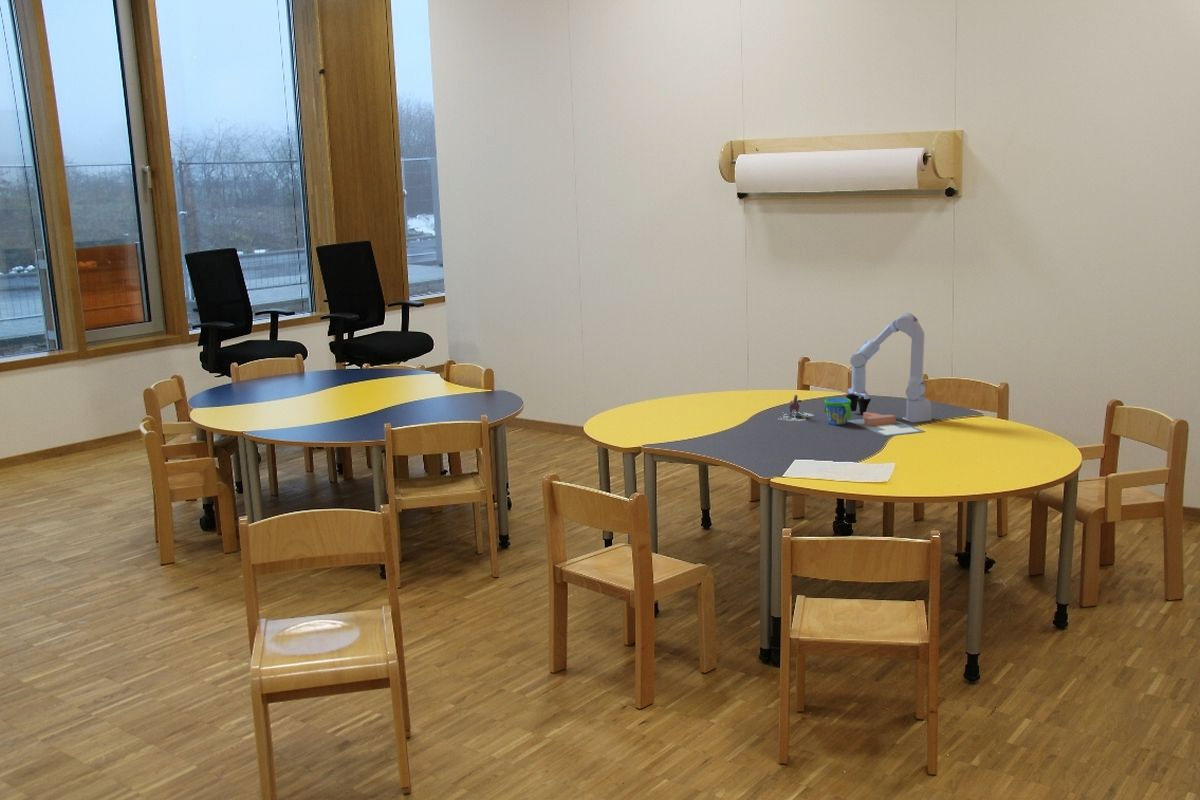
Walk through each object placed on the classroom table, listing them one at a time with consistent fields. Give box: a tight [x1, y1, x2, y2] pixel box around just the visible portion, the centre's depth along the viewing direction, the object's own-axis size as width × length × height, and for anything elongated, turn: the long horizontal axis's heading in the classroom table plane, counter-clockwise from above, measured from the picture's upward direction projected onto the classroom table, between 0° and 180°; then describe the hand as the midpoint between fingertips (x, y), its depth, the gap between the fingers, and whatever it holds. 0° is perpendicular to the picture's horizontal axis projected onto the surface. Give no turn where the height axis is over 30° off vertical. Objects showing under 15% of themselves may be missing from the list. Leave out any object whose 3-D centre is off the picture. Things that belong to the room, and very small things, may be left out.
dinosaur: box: [777, 394, 815, 422], centre depth 481 cm, size 18×18×11 cm
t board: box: [847, 418, 926, 438], centre depth 458 cm, size 18×30×1 cm, turn 17°
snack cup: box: [823, 396, 852, 426], centre depth 464 cm, size 16×10×10 cm
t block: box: [862, 411, 897, 426], centre depth 465 cm, size 12×12×3 cm
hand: (858, 412), depth 478 cm, fingers open, 7 cm apart
